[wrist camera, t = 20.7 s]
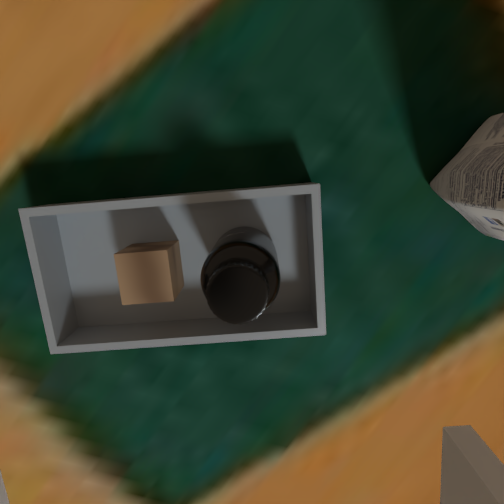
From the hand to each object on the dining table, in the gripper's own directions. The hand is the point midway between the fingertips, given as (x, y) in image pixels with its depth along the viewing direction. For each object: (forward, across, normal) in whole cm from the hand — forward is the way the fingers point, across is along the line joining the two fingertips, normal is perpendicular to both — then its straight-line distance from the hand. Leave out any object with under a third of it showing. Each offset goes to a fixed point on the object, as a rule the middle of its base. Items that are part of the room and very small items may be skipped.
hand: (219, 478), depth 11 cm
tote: (+29, -6, 0) cm, 29 cm away
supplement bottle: (+28, 0, 0) cm, 28 cm away
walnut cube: (+28, -10, 0) cm, 30 cm away
